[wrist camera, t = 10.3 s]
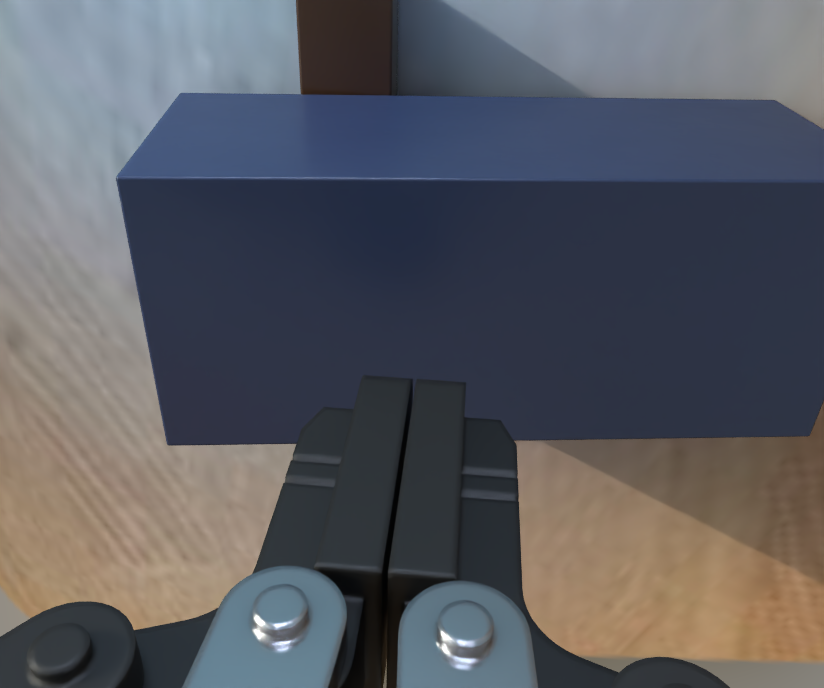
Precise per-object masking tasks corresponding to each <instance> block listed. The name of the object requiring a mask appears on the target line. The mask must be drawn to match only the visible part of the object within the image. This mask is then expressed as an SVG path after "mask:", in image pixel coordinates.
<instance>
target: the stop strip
mask: <svg viewBox="0 0 824 688" xmlns="http://www.w3.org/2000/svg"><path fill="white" fill-rule="evenodd" d="M296 12H297V31H298V50H299V68H300V87H301V94H303V95H387V96H397V68H398V0H296Z"/></svg>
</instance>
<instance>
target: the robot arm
mask: <svg viewBox="0 0 824 688" xmlns="http://www.w3.org/2000/svg"><path fill="white" fill-rule="evenodd" d="M465 396H466V382H455V381H441V380H427V379H416V384H415V391H414V398H413V379H410V378H397V377H383V376H369V375H363V376H362V378H361V382H360V386H359V390H358V394H357V398H356V402H355V406H354V409H344V408H331V407H323V408H322V409H321V410H320V411H319V412H318V413H317V414H316V415H315V416H314V417H313V418H312V419H311V420H310V421H309V422H308V423H307V424H306V425H305V426H304V427H303V428H302V429H301V432H300V435H299V438H298V441H297V444H296V447H295V450H294V453H293V460H292V461H291V462H290V465H289V468H288V471H287V474H286V477H285V478H286V479H285V483H283V486H282V489H281V492H280V495H279V498H278V501H277V504H276V507H275V510H274V513H273V516H272V519H271V522H270V525H269V528H268V531H267V534H266V537H265V540H264V543H263V546H262V549H261V552H260V555H259V558H258V561H257V564H256V567H255V569H254V571H253V574H252V575H250V576H248V577H246V578H245V579H243V580H242V581H240V582H239V583H238V584H237V585H235V586H234V587H233V588H232V589H231V590H230V591H229V592H228V594H227V595H226V596H225V597H224V599H223V601H222V602H221V604H220V606H219V608H217V609H215V610H213V611H211V612H209V613H207V614H204V615H202V616H199V617H196V618H193V619H189V620H185V621H180V622H175V623H170V624H165V625H159V626H154V627H149V628H144V629H139V630H133V627H132V624H131V623H130V621H129V620H128V618H127V617H126V616H125V615H124V614H123V613H122V612H120V611H119V610H117V609H116V608H114V607H112V606H109V605H106V604H103V603H98V602H74V603H67V604H64V605H60V606H56V607H54V608H51V609H48V610H46V611H43V612H42V613H40V614H38V615H36V616H34V617H32V618H30V619H29V620H27V621H26V622H24V623H22V624H21V625H19V626H17V627H16V628H14V629H12V630H11V631H9V632H7V633H6V634H4V635H3V636H1V637H0V688H383V683H384V675H385V667H386V660H387V688H730V687H729V686H727V685H726V684H725V683H724V682H723V681H721V680H720V679H719V678H718V677H716V676H715V675H713V674H712V673H710V672H708V671H707V670H705V669H703V668H701V667H699V666H697V665H695V664H692V663H689V662H686V661H683V660H680V659H674V658H669V657H653V658H645V659H642V660H639V661H636V662H634V663H632V664H630V665H628V666H626V667H625V668H624V669H623V670H622V671H621V672H619V673H618V672H616V671H613V670H611V669H608V668H606V667H603V666H601V665H598V664H595V663H593V662H591V661H588V660H585V659H583V658H581V657H578V656H576V655H574V654H572V653H570V652H568V651H566V650H565V649H563V648H561V647H560V646H558V645H557V644H555V643H554V642H553V641H552V640H550V639H549V638H548V637H547V636H546V635H545V634H544V633H543V632H542V631H541V630H540V629H539V628H538V626H537V625H536V624H535V622H534V621H533V619H532V618H531V616H530V614H529V612H528V610H527V608H526V605H525V602H524V598H523V591H522V570H521V545H520V520H519V502H518V496H519V495H518V478H517V474H518V470H517V446H516V443H515V442H514V440H513V439H512V437H511V436H510V434H509V432H508V431H507V429H506V428H505V426H504V424H503V423H502V421H501V420H494V419H481V418H468V417H464V416H465Z"/></svg>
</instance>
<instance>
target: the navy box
mask: <svg viewBox="0 0 824 688" xmlns="http://www.w3.org/2000/svg"><path fill="white" fill-rule="evenodd" d="M116 181H117V186H118V191H119V196H120V202H121V207H122V212H123V217H124V222H125V228H126V233H127V238H128V243H129V248H130V254H131V259H132V264H133V269H134V275H135V280H136V285H137V290H138V295H139V301H140V306H141V311H142V316H143V321H144V327H145V332H146V337H147V342H148V348H149V353H150V358H151V363H152V368H153V374H154V379H155V384H156V389H157V394H158V400H159V405H160V410H161V415H162V420H163V426H164V431H165V436H166V441H167V444H168V445H238V444H297V441H298V438H299V435H300V432H301V429H302V428H303V427H304V426H305V425H306V424H307V423H308V422H309V421H310V420H311V419H312V418H313V417H314V416H315V415H316V414H317V413H318V412H319V411H320V410H321V409H322V408H323V407H331V408H344V409H354V406H355V402H356V398H357V394H358V390H359V386H360V382H361V378H362V376H363V375H369V376H383V377H397V378H410V379H413V398H414V391H415V384H416V379H427V380H441V381H455V382H466V396H465V416H464V417H468V418H481V419H494V420H501V421H502V423H503V424H504V426H505V428H506V429H507V431H508V432H509V434H510V436H511V437H512V439H513V440H514V441H516V440H586V439H656V438H725V437H795V436H809V435H810V434H811V431H812V429H813V426H814V424H815V421H816V419H817V416H818V414H819V411H820V409H821V406H822V404H823V401H824V129H822V128H820V127H819V126H817V125H815V124H814V123H812V122H810V121H809V120H807V119H805V118H804V117H802V116H800V115H799V114H797V113H795V112H794V111H792V110H790V109H789V108H787V107H785V106H784V105H782V104H780V103H779V102H777V101H775V100H719V99H636V98H553V97H470V96H387V95H303V94H220V93H180V94H179V95H178V97H177V98H176V99H175V101H174V102H173V103H172V105H171V106H170V107H169V109H168V110H167V111H166V113H165V114H164V115H163V116H162V118H161V119H160V120H159V122H158V123H157V124H156V126H155V127H154V128H153V130H152V131H151V132H150V133H149V135H148V136H147V137H146V139H145V140H144V141H143V143H142V144H141V145H140V147H139V148H138V149H137V150H136V152H135V153H134V154H133V156H132V157H131V158H130V160H129V161H128V162H127V164H126V165H125V166H124V168H123V169H122V170H121V171H120V173H119V174H118V175H117V177H116Z"/></svg>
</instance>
